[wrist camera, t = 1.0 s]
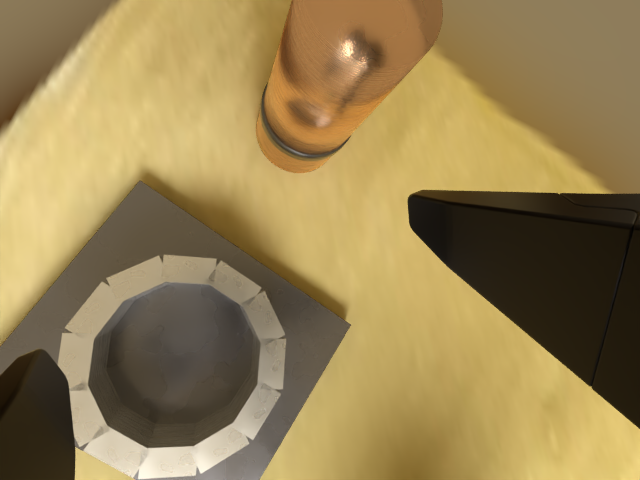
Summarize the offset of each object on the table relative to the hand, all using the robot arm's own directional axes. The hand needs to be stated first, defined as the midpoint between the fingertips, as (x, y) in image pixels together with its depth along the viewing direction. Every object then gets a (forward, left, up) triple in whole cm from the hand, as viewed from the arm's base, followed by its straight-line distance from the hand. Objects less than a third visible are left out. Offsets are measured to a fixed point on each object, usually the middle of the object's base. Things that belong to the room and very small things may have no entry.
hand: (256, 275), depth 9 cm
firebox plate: (0, +4, -13) cm, 14 cm away
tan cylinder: (+2, -10, -13) cm, 17 cm away
